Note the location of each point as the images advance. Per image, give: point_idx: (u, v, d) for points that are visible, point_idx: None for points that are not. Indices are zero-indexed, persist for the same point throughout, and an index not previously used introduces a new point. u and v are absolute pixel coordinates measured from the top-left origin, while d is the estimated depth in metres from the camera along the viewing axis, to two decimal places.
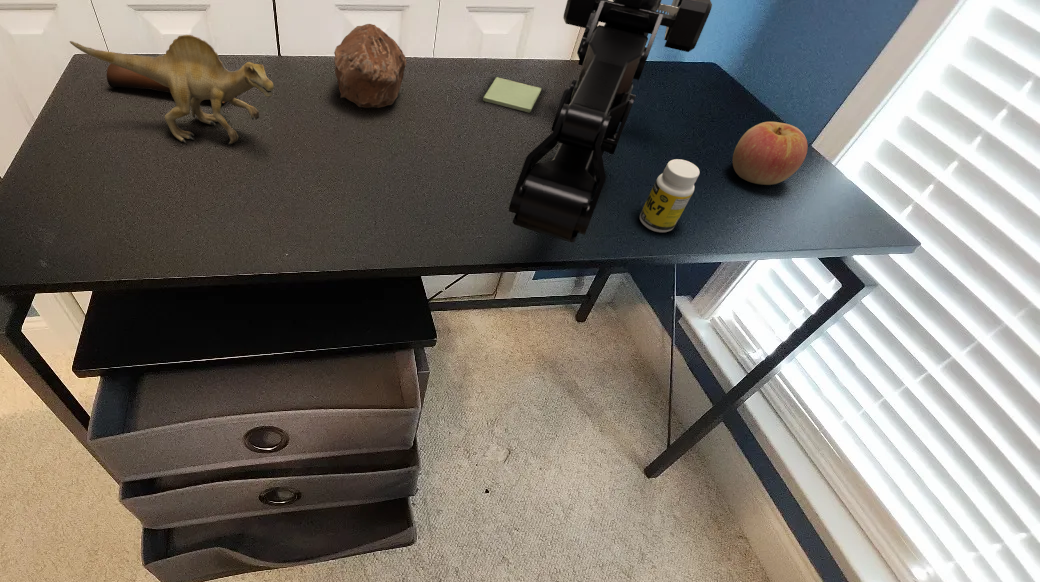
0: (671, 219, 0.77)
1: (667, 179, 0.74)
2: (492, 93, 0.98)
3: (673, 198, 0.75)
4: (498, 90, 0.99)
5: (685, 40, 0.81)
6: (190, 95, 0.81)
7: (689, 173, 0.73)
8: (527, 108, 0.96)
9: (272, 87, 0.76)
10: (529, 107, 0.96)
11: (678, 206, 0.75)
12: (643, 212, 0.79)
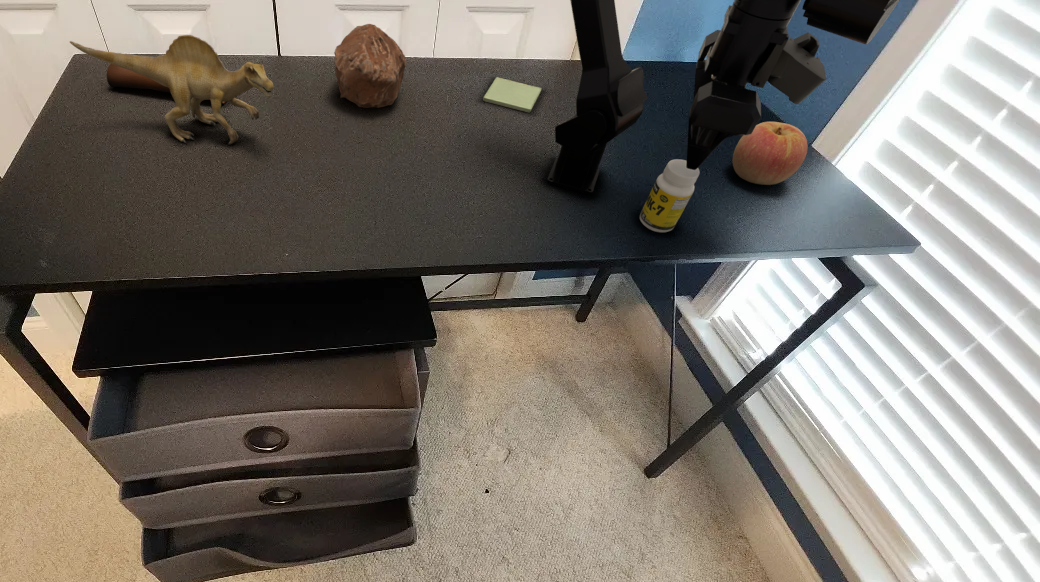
0: (671, 219, 0.77)
1: (667, 179, 0.74)
2: (492, 93, 0.98)
3: (673, 198, 0.75)
4: (498, 90, 0.99)
5: (718, 92, 0.60)
6: (190, 95, 0.81)
7: (689, 173, 0.73)
8: (527, 108, 0.96)
9: (272, 87, 0.76)
10: (529, 107, 0.96)
11: (678, 206, 0.75)
12: (643, 212, 0.79)
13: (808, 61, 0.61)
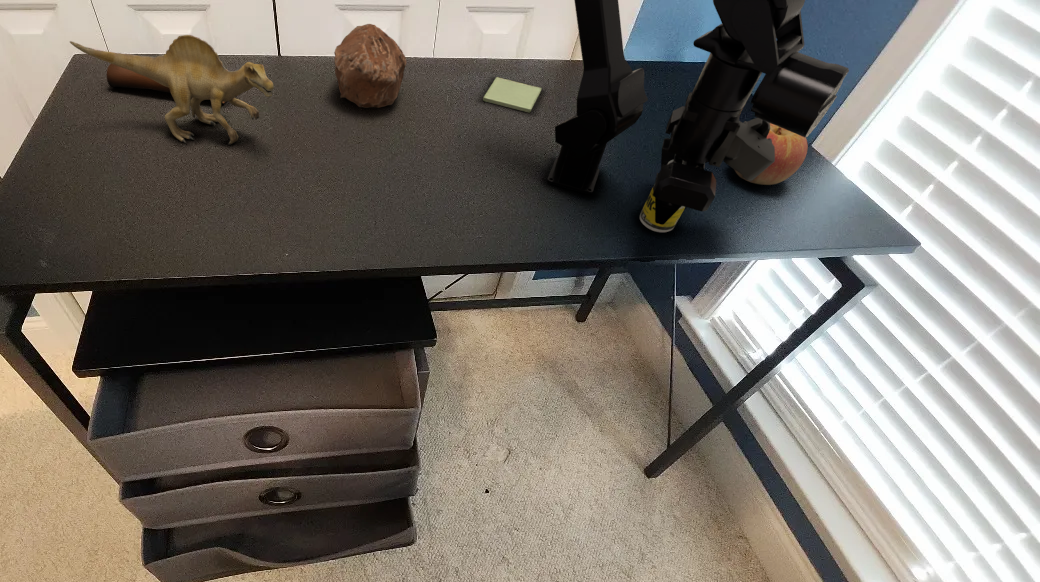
0: (672, 219, 0.77)
1: None
2: (492, 93, 0.98)
3: None
4: (498, 90, 0.99)
5: (677, 174, 0.67)
6: (190, 95, 0.81)
7: None
8: (527, 108, 0.96)
9: (272, 87, 0.76)
10: (529, 107, 0.96)
11: None
12: (643, 212, 0.79)
13: (759, 144, 0.68)
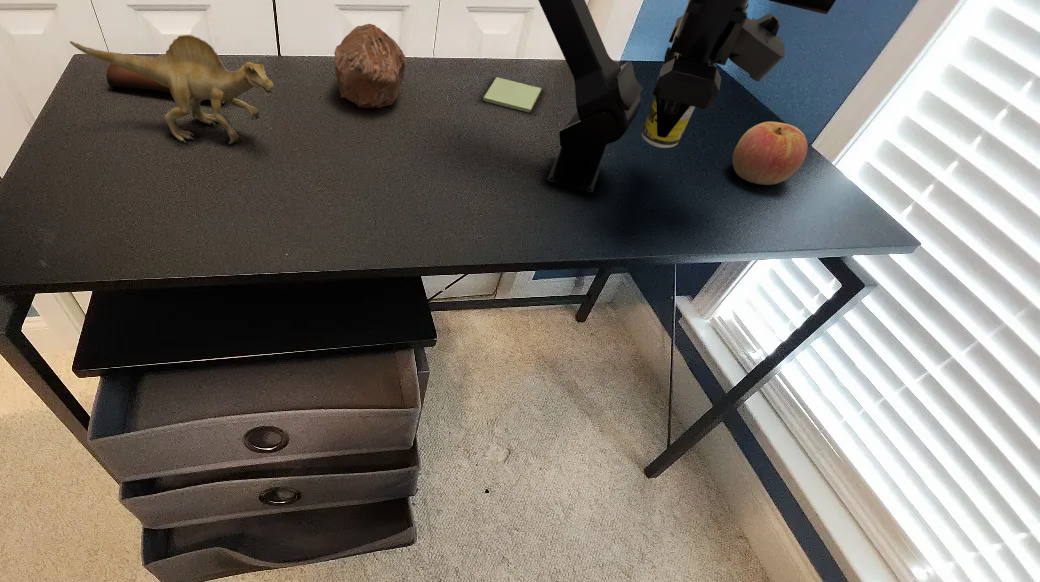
0: (675, 132, 0.73)
1: None
2: (492, 93, 0.98)
3: None
4: (498, 90, 0.99)
5: (679, 68, 0.63)
6: (190, 95, 0.81)
7: None
8: (527, 108, 0.96)
9: (272, 87, 0.76)
10: (529, 107, 0.96)
11: (682, 116, 0.71)
12: (645, 127, 0.75)
13: (768, 40, 0.64)
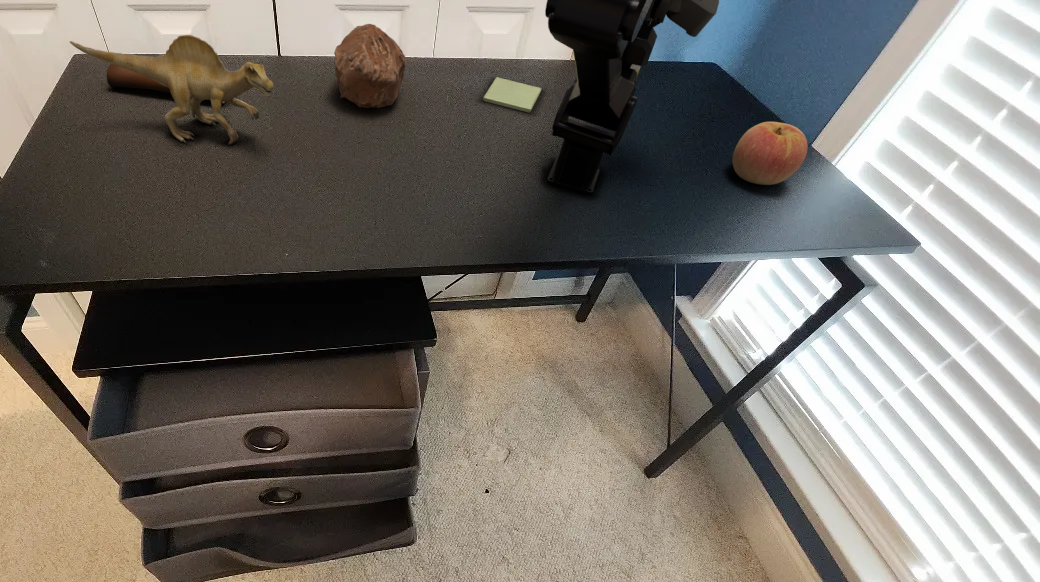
0: None
1: None
2: (492, 93, 0.98)
3: None
4: (498, 90, 0.99)
5: None
6: (190, 95, 0.81)
7: None
8: (527, 108, 0.96)
9: (272, 87, 0.76)
10: (529, 107, 0.96)
11: None
12: None
13: None
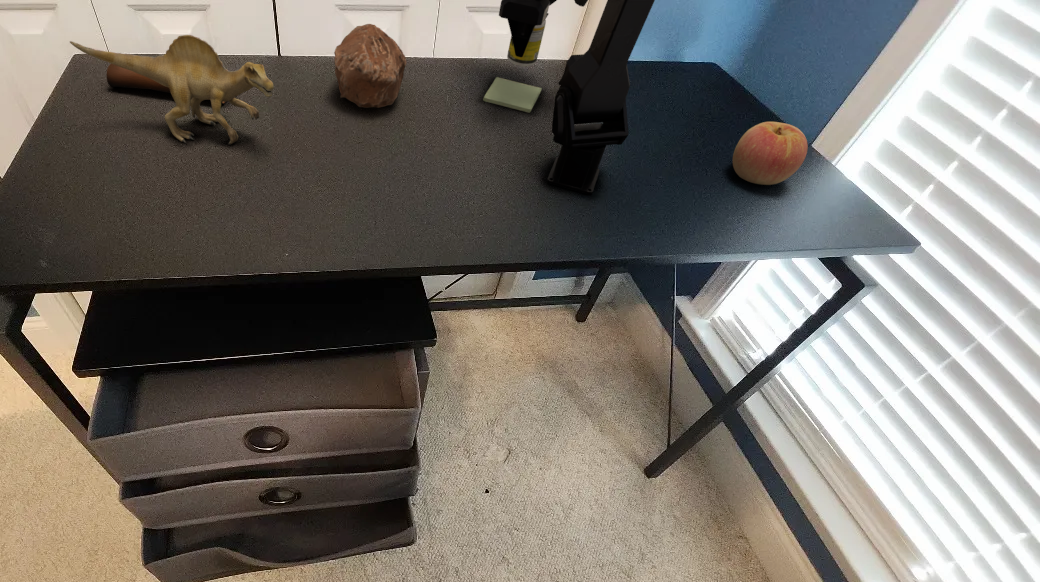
0: (529, 52, 0.92)
1: None
2: (492, 93, 0.98)
3: None
4: (498, 90, 0.99)
5: None
6: (190, 95, 0.81)
7: None
8: (527, 108, 0.96)
9: (272, 87, 0.76)
10: (529, 107, 0.96)
11: (533, 38, 0.90)
12: (508, 50, 0.94)
13: None
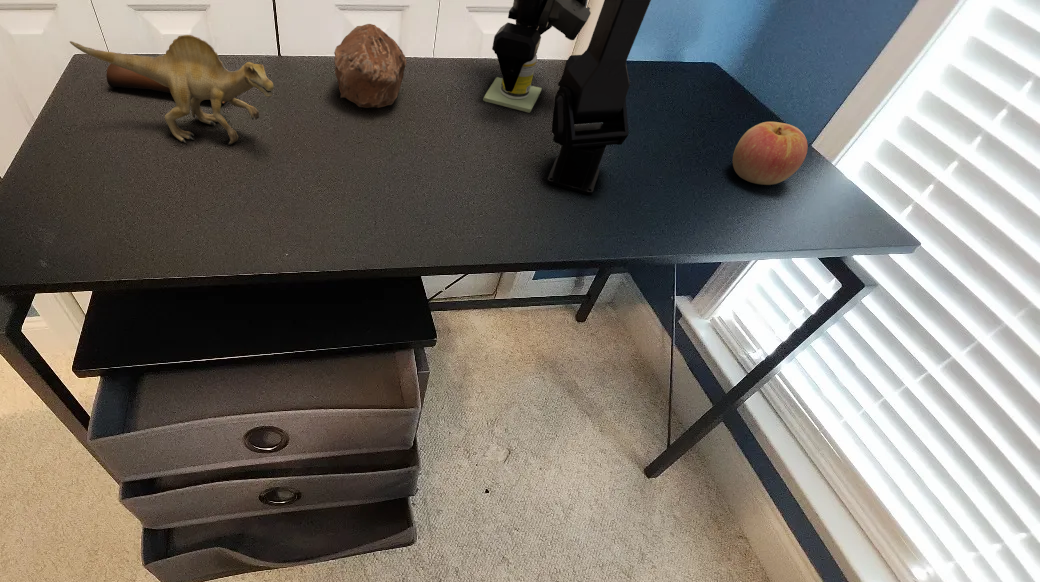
0: (522, 86, 0.96)
1: None
2: (492, 93, 0.98)
3: None
4: (498, 90, 0.99)
5: (508, 29, 0.85)
6: (190, 95, 0.81)
7: None
8: (527, 108, 0.96)
9: (272, 87, 0.76)
10: (529, 107, 0.96)
11: (524, 73, 0.94)
12: None
13: (575, 8, 0.87)
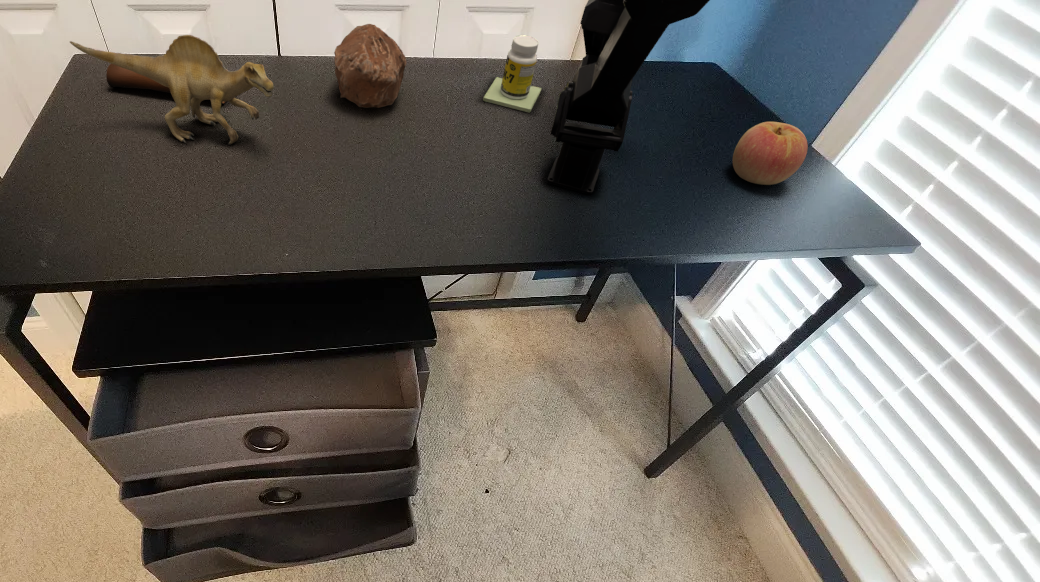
0: (522, 86, 0.96)
1: (513, 50, 0.93)
2: (492, 93, 0.98)
3: (519, 65, 0.93)
4: (498, 90, 0.99)
5: None
6: (190, 95, 0.81)
7: (529, 44, 0.92)
8: (527, 108, 0.96)
9: (272, 87, 0.76)
10: (529, 107, 0.96)
11: (524, 73, 0.94)
12: None
13: None
